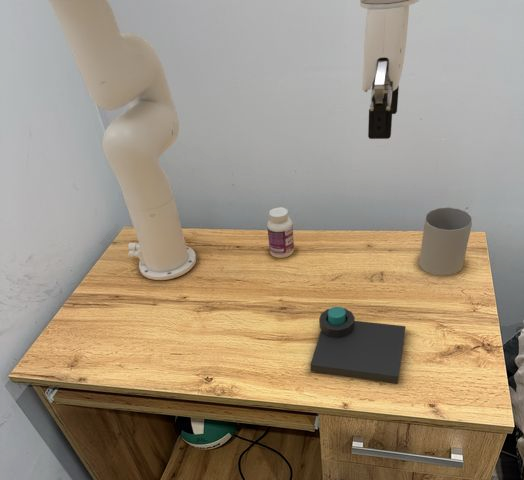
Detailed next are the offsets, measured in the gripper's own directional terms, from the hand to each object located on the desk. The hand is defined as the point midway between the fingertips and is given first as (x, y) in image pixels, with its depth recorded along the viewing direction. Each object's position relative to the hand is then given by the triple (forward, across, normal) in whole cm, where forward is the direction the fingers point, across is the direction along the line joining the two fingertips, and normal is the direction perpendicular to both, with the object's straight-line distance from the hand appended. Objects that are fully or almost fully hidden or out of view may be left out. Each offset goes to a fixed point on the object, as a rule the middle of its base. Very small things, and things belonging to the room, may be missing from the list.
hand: (383, 125), depth 76 cm
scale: (+30, +19, 0) cm, 36 cm away
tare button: (+27, +15, -5) cm, 31 cm away
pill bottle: (+30, -9, -21) cm, 38 cm away
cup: (+31, -9, +12) cm, 34 cm away
